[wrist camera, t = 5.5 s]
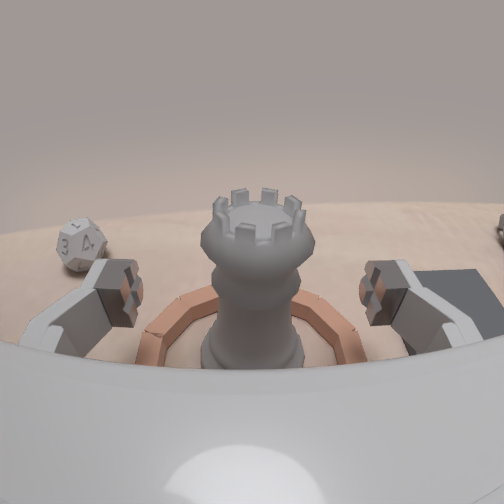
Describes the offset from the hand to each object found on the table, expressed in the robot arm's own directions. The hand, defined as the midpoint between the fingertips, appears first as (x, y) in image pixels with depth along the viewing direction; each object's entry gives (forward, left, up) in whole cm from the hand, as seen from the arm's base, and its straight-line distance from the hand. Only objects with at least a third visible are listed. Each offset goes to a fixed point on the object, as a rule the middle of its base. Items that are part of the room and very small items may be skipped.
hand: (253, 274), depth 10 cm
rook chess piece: (0, -1, -5) cm, 5 cm away
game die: (-11, +7, -5) cm, 14 cm away
